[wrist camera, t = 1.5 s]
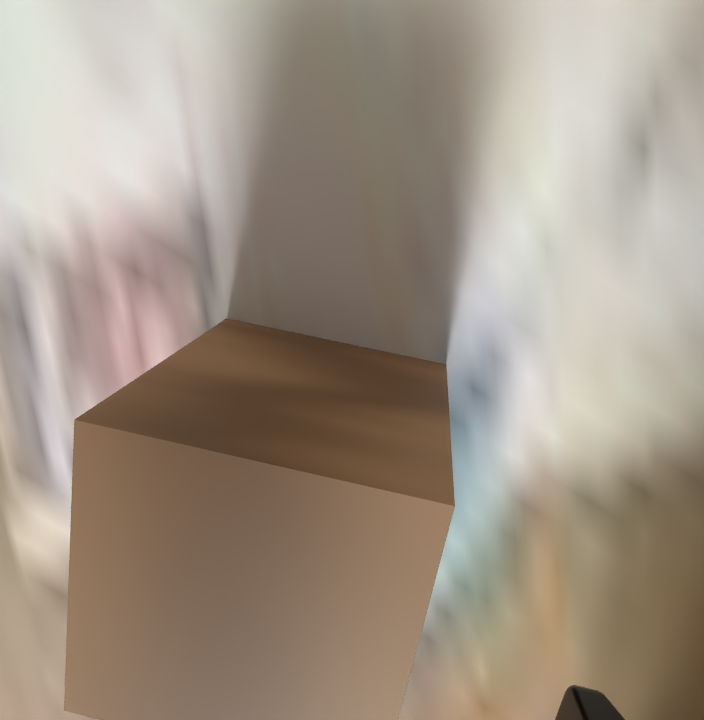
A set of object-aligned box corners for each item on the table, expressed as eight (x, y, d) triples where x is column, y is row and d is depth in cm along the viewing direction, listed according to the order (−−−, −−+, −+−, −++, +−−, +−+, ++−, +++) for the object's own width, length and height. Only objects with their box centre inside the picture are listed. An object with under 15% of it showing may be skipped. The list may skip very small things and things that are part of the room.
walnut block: (446, 364, 13) (454, 506, 7) (400, 554, 15) (378, 793, 9) (227, 318, 13) (74, 419, 8) (205, 508, 15) (64, 709, 9)
